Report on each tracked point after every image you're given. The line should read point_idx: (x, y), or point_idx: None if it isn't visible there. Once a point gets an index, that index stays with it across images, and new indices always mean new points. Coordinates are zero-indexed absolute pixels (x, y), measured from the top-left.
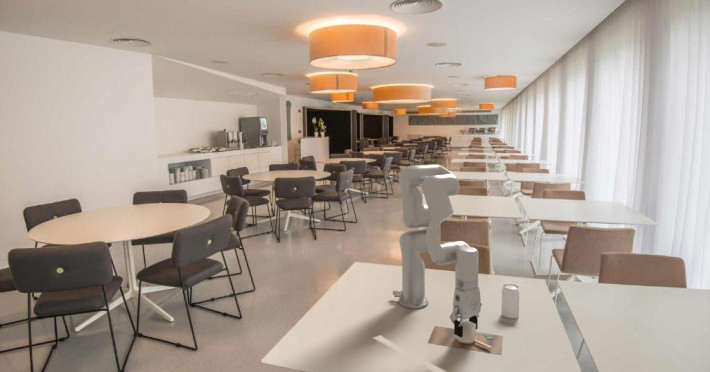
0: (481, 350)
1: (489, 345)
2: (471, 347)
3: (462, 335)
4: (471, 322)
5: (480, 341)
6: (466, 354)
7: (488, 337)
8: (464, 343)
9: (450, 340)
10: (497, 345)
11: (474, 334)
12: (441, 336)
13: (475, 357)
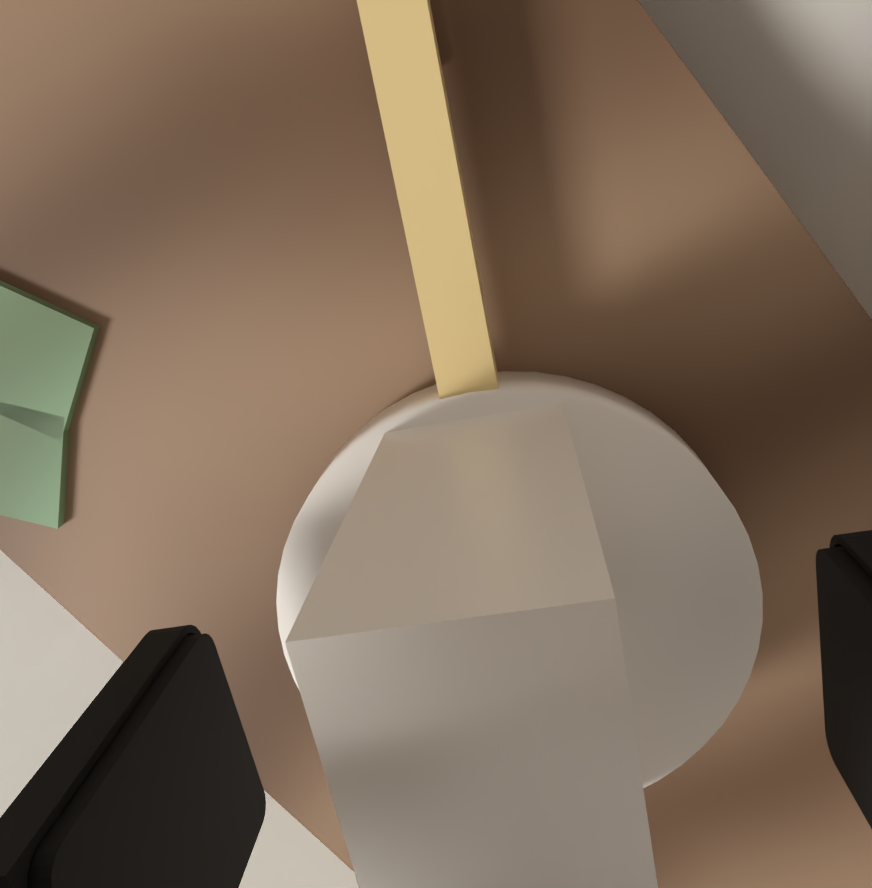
0: (573, 14)
1: (231, 106)
2: (670, 258)
3: (869, 546)
4: (363, 816)
5: (295, 357)
6: (820, 221)
7: (36, 377)
8: None
9: (811, 696)
10: (55, 1)
11: (427, 459)
12: (830, 871)
13: (759, 17)
